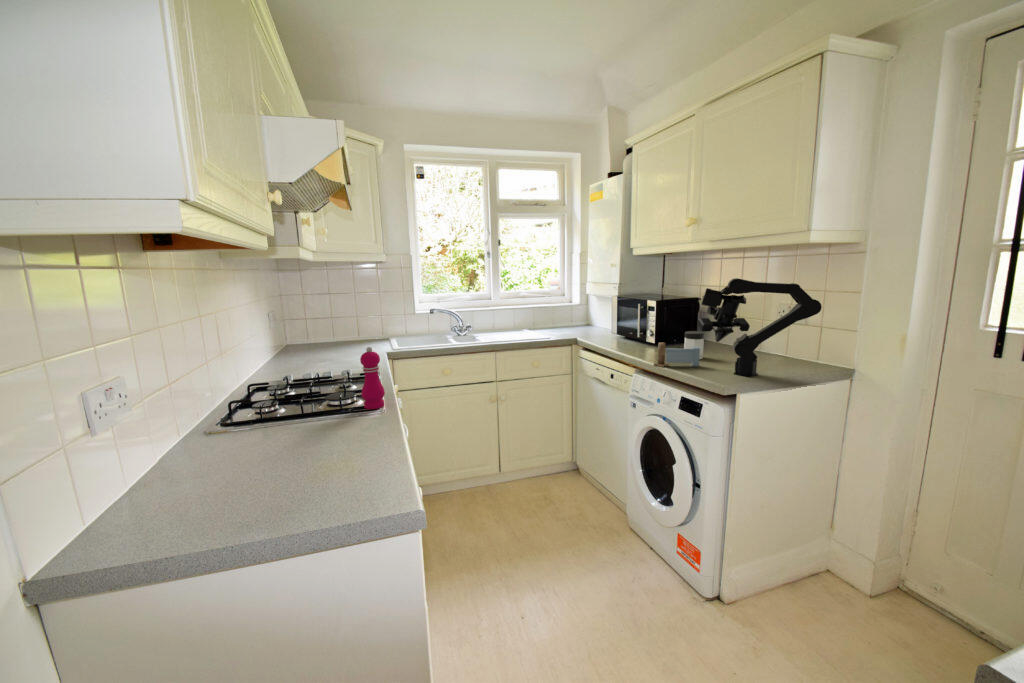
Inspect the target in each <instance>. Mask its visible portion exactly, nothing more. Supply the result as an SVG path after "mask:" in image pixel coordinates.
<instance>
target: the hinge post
mask: <svg viewBox="0 0 1024 683" xmlns="http://www.w3.org/2000/svg"><path fill="white" fill-rule="evenodd" d="M668 365H670V363H666V342H658V346H657V362H655V363H653V366H654V367H659V368H665V367H669V366H668ZM664 366H665V367H664Z"/></svg>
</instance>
